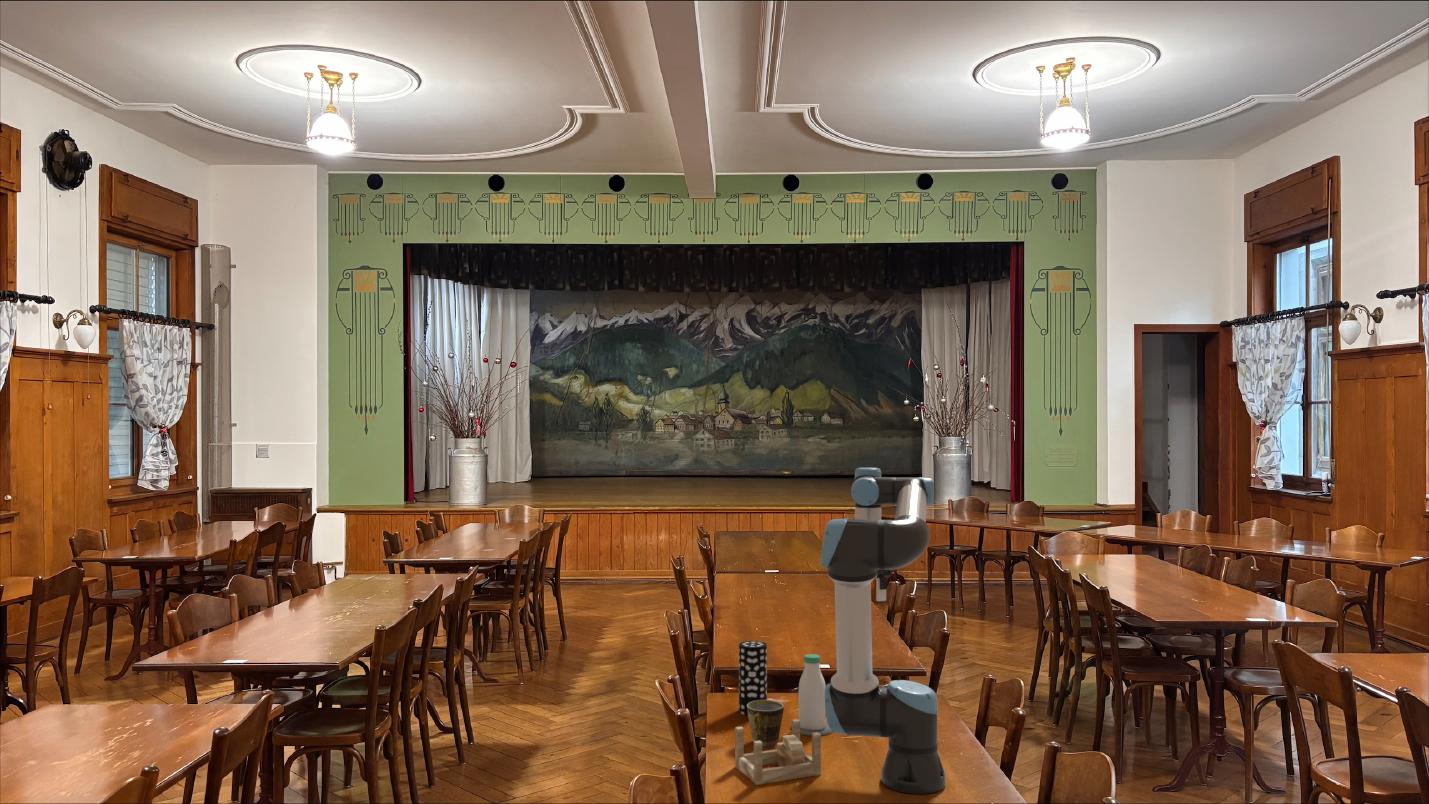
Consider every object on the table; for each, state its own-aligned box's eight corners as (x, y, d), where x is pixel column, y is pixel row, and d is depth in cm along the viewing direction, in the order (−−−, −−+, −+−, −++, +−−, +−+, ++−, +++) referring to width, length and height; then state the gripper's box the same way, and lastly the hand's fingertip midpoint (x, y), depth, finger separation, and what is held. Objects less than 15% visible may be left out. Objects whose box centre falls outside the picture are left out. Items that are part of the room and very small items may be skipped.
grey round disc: (841, 732, 267) (841, 730, 267) (803, 738, 262) (803, 735, 262) (821, 719, 278) (821, 717, 278) (784, 725, 273) (784, 722, 273)
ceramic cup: (754, 734, 266) (754, 697, 266) (788, 738, 262) (788, 702, 262) (737, 749, 254) (737, 711, 254) (773, 754, 250) (773, 715, 250)
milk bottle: (824, 732, 266) (824, 659, 266) (797, 730, 267) (796, 658, 267) (827, 723, 273) (827, 652, 273) (800, 721, 275) (799, 651, 275)
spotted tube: (754, 705, 292) (753, 639, 292) (772, 711, 286) (772, 644, 286) (733, 710, 287) (733, 643, 287) (751, 717, 280) (751, 648, 281)
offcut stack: (806, 773, 237) (806, 743, 237) (791, 775, 235) (791, 745, 235) (791, 761, 245) (791, 732, 245) (776, 764, 243) (776, 734, 243)
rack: (820, 774, 236) (820, 733, 236) (756, 785, 229) (756, 743, 229) (797, 757, 248) (797, 718, 248) (735, 766, 241) (735, 726, 241)
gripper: (904, 526, 263) (904, 603, 263) (857, 517, 286) (857, 588, 286) (880, 527, 260) (880, 605, 260) (835, 518, 283) (835, 590, 283)
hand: (868, 596), depth 273 cm, fingers open, 13 cm apart
